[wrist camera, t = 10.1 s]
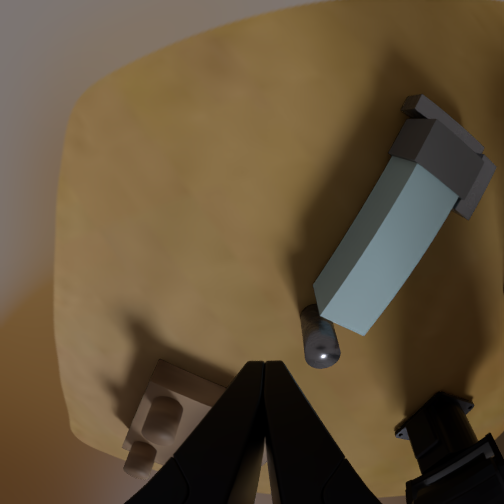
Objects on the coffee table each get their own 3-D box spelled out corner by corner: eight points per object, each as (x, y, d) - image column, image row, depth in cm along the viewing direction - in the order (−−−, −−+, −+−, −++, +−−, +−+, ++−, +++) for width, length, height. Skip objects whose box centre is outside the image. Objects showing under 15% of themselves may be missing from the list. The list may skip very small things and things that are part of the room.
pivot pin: (336, 311, 20) (347, 348, 17) (319, 333, 21) (327, 372, 17) (310, 299, 20) (317, 336, 16) (294, 322, 21) (298, 361, 17)
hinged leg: (355, 305, 20) (368, 339, 17) (308, 282, 20) (315, 315, 16) (450, 153, 16) (484, 161, 12) (406, 118, 15) (436, 118, 12)
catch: (473, 150, 16) (501, 156, 13) (444, 206, 17) (468, 220, 15) (407, 96, 15) (430, 92, 12) (375, 157, 17) (393, 163, 14)
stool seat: (296, 412, 24) (298, 466, 19) (235, 469, 29) (230, 511, 23) (159, 358, 23) (136, 410, 18) (129, 429, 27) (112, 470, 22)
